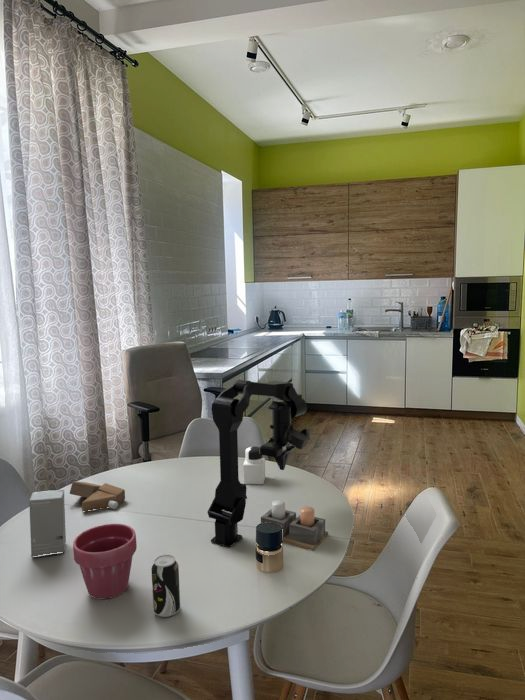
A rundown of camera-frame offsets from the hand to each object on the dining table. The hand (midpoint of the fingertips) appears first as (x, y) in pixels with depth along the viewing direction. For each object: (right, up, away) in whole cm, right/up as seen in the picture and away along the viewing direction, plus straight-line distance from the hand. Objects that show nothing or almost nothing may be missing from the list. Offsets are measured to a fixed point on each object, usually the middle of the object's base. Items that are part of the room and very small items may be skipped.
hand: (282, 469), depth 164 cm
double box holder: (+2, -14, -18) cm, 23 cm away
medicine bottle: (-9, -9, +22) cm, 26 cm away
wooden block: (-61, -13, +5) cm, 62 cm away
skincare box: (-63, -17, -23) cm, 70 cm away
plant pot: (-43, -19, -41) cm, 62 cm away
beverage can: (-27, -20, -50) cm, 60 cm away
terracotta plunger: (+6, -11, -20) cm, 24 cm away
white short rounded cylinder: (-2, -11, -16) cm, 19 cm away
